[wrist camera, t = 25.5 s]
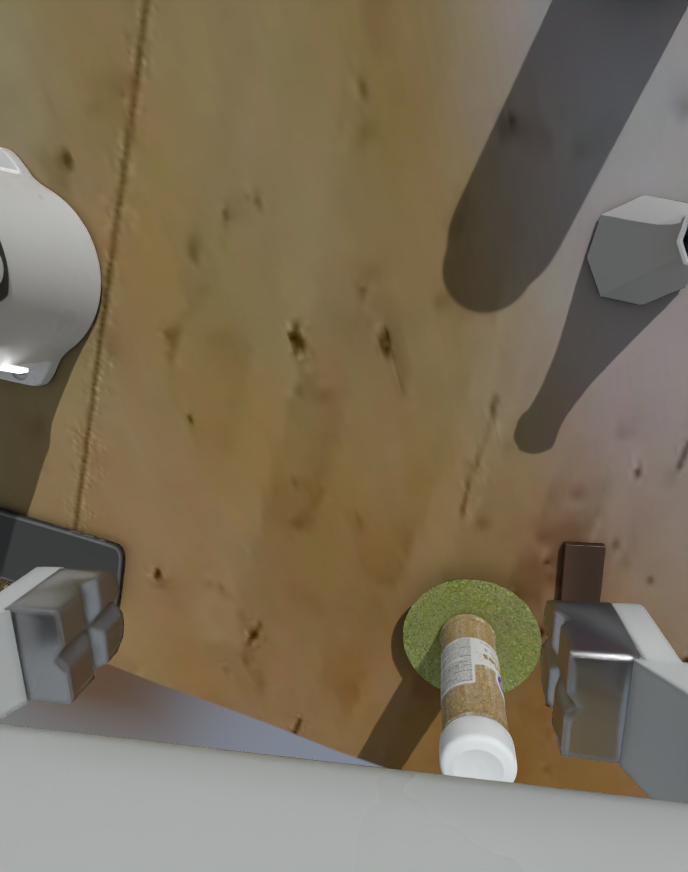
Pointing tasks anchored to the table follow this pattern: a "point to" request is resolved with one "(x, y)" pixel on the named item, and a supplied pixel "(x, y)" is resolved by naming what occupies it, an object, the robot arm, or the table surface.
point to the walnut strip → (582, 571)
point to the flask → (641, 250)
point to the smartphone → (53, 548)
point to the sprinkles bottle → (473, 704)
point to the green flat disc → (484, 600)
